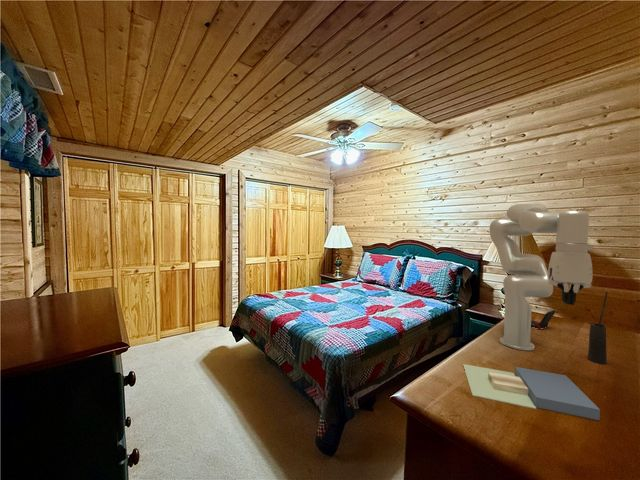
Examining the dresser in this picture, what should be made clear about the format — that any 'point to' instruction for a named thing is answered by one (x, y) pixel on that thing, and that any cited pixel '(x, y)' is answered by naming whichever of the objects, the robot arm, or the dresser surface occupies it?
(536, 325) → the dark brown angled stand
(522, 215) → the robot arm
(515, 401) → the mat
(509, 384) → the birch block
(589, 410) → the slate blue tile
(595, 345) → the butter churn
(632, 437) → the dresser surface
